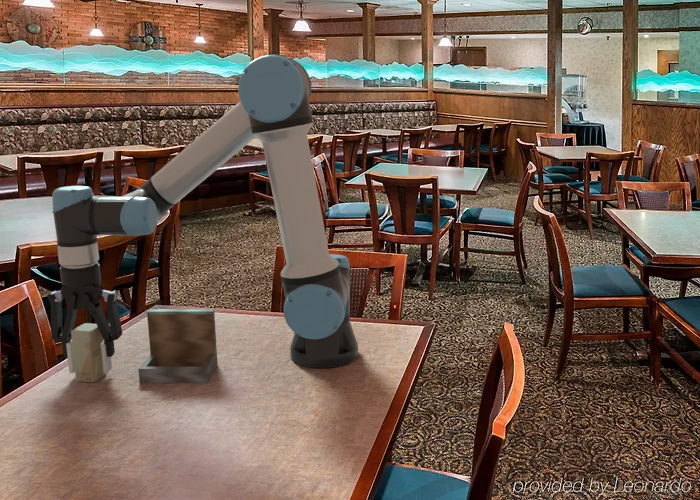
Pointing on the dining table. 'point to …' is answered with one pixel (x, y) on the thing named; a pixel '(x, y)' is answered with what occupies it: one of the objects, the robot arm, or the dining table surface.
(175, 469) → the dining table surface
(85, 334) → the box
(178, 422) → the dining table surface
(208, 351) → the cleat board
